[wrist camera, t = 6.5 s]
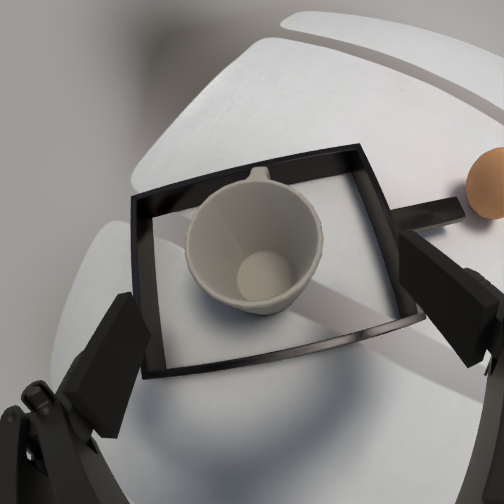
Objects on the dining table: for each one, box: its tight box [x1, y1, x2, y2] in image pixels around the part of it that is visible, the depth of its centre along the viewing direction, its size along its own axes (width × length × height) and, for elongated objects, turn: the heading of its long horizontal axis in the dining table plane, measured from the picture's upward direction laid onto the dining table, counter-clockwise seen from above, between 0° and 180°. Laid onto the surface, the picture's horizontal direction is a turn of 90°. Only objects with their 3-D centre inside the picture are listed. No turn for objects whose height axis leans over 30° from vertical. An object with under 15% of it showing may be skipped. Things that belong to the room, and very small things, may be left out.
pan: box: [131, 143, 466, 380], centre depth 23 cm, size 27×15×4 cm, turn 101°
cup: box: [185, 167, 323, 315], centre depth 21 cm, size 8×10×8 cm
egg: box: [466, 147, 504, 219], centre depth 20 cm, size 6×6×8 cm
